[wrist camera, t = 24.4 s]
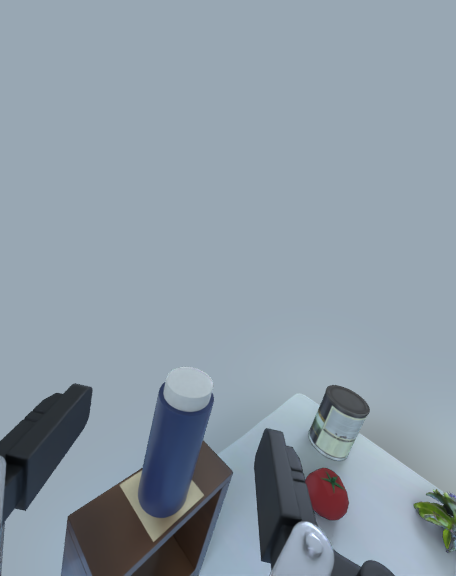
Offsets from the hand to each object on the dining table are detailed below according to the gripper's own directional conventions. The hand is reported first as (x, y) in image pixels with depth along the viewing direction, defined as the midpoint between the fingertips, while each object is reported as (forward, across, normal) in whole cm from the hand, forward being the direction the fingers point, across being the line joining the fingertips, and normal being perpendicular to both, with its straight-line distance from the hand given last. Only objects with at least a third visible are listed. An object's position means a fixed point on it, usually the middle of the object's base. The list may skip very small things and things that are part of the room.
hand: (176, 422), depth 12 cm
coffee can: (+45, -38, +40) cm, 72 cm away
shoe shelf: (+11, 0, +40) cm, 42 cm away
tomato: (+29, -31, +40) cm, 58 cm away
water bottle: (+11, 0, +20) cm, 23 cm away
